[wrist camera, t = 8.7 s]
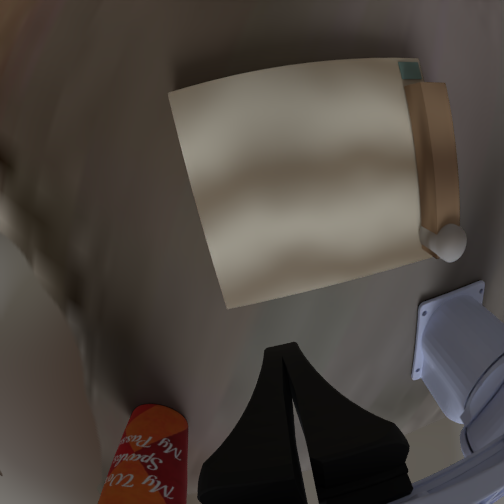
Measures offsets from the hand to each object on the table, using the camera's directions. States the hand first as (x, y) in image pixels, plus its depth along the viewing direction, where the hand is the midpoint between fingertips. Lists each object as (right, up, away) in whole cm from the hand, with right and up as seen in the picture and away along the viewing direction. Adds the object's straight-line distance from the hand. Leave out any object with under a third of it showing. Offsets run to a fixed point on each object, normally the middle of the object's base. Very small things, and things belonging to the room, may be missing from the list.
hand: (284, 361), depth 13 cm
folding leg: (+10, +10, +4) cm, 15 cm away
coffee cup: (-11, -13, +14) cm, 22 cm away
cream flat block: (+3, +10, +7) cm, 12 cm away
